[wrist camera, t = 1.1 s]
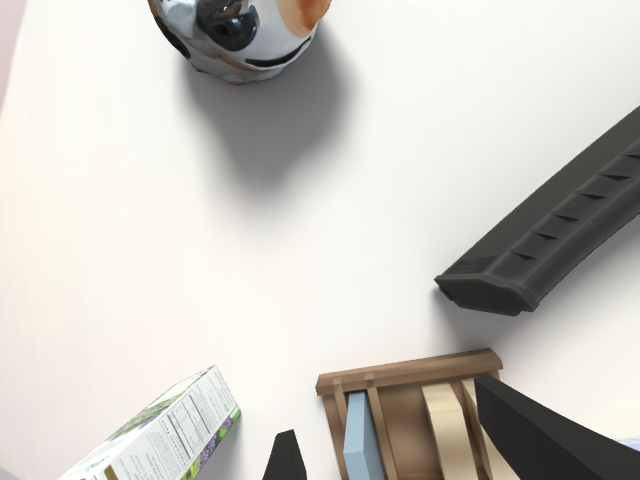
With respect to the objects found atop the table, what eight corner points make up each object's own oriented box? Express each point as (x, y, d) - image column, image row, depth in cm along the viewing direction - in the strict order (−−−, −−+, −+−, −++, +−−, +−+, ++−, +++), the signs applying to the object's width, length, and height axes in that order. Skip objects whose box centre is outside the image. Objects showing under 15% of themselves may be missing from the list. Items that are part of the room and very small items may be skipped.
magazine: (464, 366, 19) (1753, -307, 6) (428, 327, 19) (1600, -406, 6) (453, 272, 34) (807, 27, 21) (433, 251, 35) (772, -4, 22)
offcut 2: (506, 451, 27) (530, 491, 23) (478, 454, 27) (496, 494, 23) (488, 375, 26) (510, 402, 23) (460, 379, 27) (476, 406, 23)
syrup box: (198, 431, 32) (63, 598, 18) (173, 382, 32) (19, 508, 18) (242, 411, 31) (137, 569, 17) (215, 360, 31) (88, 475, 17)
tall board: (383, 469, 28) (389, 563, 21) (369, 470, 29) (369, 564, 21) (364, 387, 28) (363, 451, 20) (350, 389, 29) (343, 453, 21)
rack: (516, 465, 27) (530, 487, 25) (344, 481, 30) (342, 502, 28) (490, 348, 27) (501, 359, 25) (319, 374, 30) (315, 387, 27)
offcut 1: (465, 455, 27) (481, 495, 23) (437, 458, 28) (449, 497, 24) (447, 381, 27) (461, 408, 23) (420, 385, 27) (429, 412, 23)
